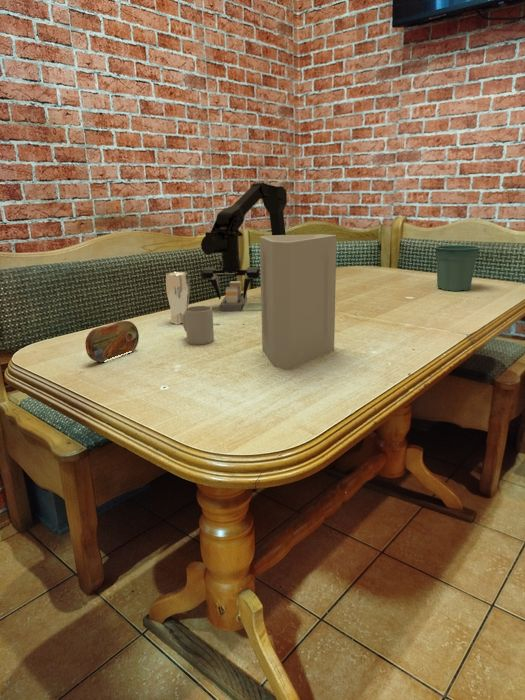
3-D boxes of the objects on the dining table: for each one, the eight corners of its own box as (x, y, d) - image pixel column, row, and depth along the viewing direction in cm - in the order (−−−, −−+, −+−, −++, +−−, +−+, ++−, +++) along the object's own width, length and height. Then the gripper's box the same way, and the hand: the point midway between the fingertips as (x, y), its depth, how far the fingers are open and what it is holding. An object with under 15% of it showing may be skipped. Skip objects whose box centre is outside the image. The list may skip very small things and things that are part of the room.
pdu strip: (246, 300, 184) (246, 280, 181) (241, 313, 165) (240, 290, 162) (227, 301, 184) (226, 280, 182) (220, 313, 165) (218, 291, 163)
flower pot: (422, 287, 200) (425, 246, 196) (453, 283, 207) (457, 243, 202) (453, 294, 186) (457, 250, 181) (485, 289, 193) (490, 247, 188)
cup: (199, 346, 131) (197, 313, 128) (174, 340, 137) (172, 308, 135) (219, 340, 136) (217, 308, 134) (194, 334, 142) (192, 303, 140)
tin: (94, 367, 118) (90, 332, 115) (85, 364, 119) (80, 330, 117) (141, 349, 130) (138, 318, 127) (132, 348, 131) (129, 316, 129)
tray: (271, 307, 173) (271, 302, 173) (270, 313, 164) (270, 308, 164) (245, 307, 174) (245, 302, 173) (243, 313, 165) (242, 308, 165)
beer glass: (193, 319, 159) (190, 271, 155) (188, 324, 153) (185, 275, 148) (172, 319, 160) (168, 271, 155) (166, 324, 153) (162, 275, 149)
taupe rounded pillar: (288, 339, 135) (287, 232, 127) (335, 349, 126) (338, 235, 118) (240, 358, 121) (235, 239, 113) (289, 370, 112) (289, 242, 104)
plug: (237, 309, 168) (236, 288, 165) (226, 309, 168) (225, 289, 166) (238, 307, 171) (237, 286, 169) (227, 307, 171) (226, 287, 169)
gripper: (260, 248, 171) (261, 293, 175) (205, 249, 172) (208, 294, 177) (258, 252, 160) (259, 300, 165) (199, 253, 161) (202, 300, 166)
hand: (232, 298), depth 168 cm, fingers open, 8 cm apart
